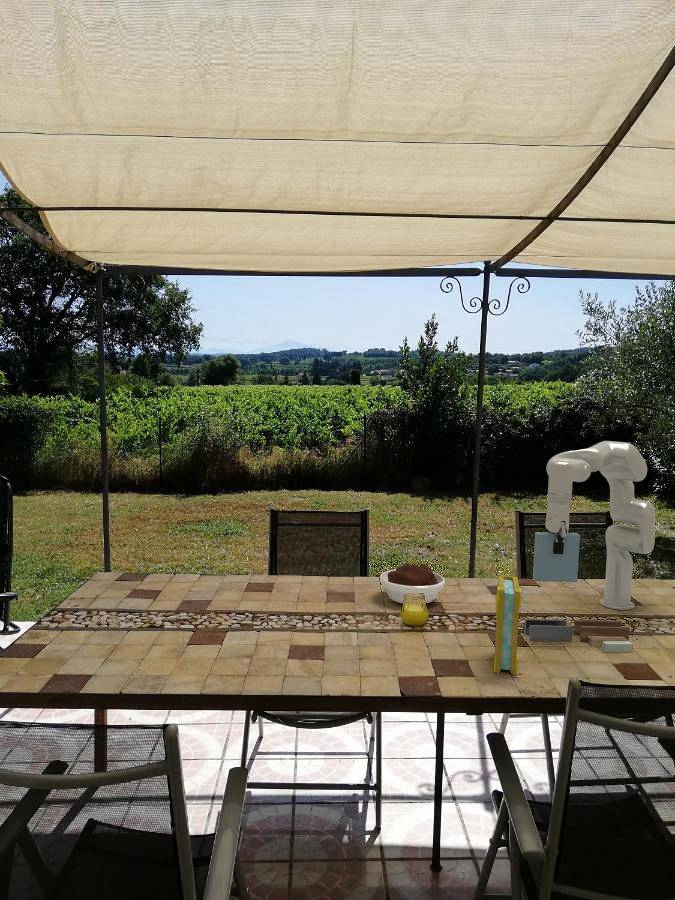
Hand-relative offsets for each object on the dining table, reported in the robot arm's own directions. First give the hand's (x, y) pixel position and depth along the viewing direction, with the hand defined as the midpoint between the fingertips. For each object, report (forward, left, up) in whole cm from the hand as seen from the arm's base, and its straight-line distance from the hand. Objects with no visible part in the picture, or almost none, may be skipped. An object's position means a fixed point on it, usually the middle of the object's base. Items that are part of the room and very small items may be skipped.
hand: (556, 552), depth 237 cm
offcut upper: (+10, +18, -28) cm, 35 cm away
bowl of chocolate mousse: (-36, -43, -30) cm, 64 cm away
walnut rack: (0, +17, -29) cm, 34 cm away
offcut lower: (+5, +17, -30) cm, 35 cm away
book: (+22, -21, -30) cm, 43 cm away
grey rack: (0, -1, -29) cm, 29 cm away
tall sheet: (0, 0, -10) cm, 10 cm away
